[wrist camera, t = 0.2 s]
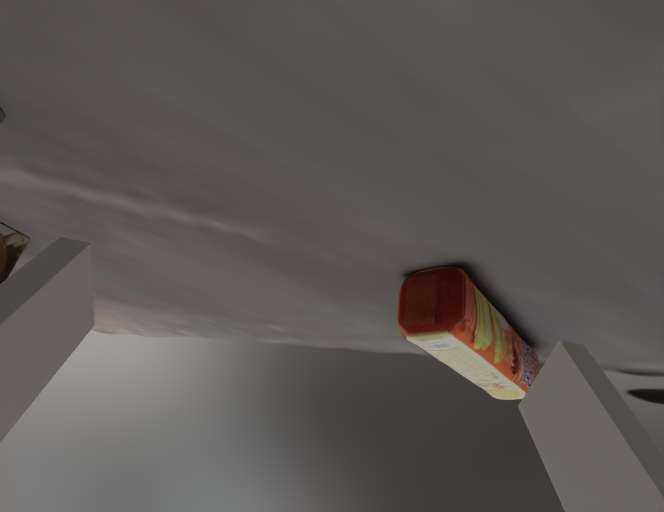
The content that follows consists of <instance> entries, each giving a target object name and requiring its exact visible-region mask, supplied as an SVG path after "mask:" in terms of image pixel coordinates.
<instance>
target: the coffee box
mask: <svg viewBox="0 0 664 512" xmlns="http://www.w3.org/2000/svg"><path fill="white" fill-rule="evenodd" d="M29 241H30V239H29V238H28V237H26V236H24V235H22V234H20V233H18V232H16V231H15V230H13V229H11V228H9V227H7V226H5V225H3V224H1V223H0V284H1V283H2V282H4V281H5V280H6V279H7V278H8V276H9V275H10V273H11V271H12V269H13V268H14V266H15V264H16V262H17V261H18V259H19V257H20V255H21V254H22V252H23V250H24V248H25V247H26V245H27V244H28V242H29Z"/></svg>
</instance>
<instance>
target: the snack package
mask: <svg viewBox="0 0 664 512" xmlns="http://www.w3.org/2000/svg"><path fill="white" fill-rule="evenodd" d="M397 322H398V327H399V330H400V332H401V334H402V336H403V337H404V338H405V339H406V340H408V341H410V342H412V343H414V344H416V345H418V346H419V347H421V348H422V349H424V350H425V351H427V352H428V353H430V354H431V355H433V356H434V357H435V358H437V359H438V360H439V361H441V362H443V363H445V364H447V365H448V366H450V367H451V368H452V369H454V370H455V371H457V372H458V373H459V374H461V375H463V376H464V377H465V378H467V379H468V380H470V381H472V382H473V383H475V384H476V385H478V386H479V387H481V388H483V389H484V390H485V391H486V392H487V393H488V394H489V395H491V396H493V397H494V398H497V399H503V400H512V399H523V398H524V396H525V394H526V393H527V391H528V390H529V388H530V386H531V385H532V383H533V382H534V380H535V378H536V377H537V375H538V374H539V361H538V357H537V354H536V353H535V351H534V350H533V349H532V348H531V347H530V346H528V345H527V344H526V343H525V342H524V341H523V340H522V339H521V338H520V337H519V336H518V335H517V333H516V332H515V331H514V329H513V328H512V327H511V326H510V324H509V323H508V322H507V321H506V320H505V318H504V317H503V316H502V315H501V314H500V313H499V312H498V311H497V310H496V309H495V308H494V307H493V306H492V304H491V303H490V302H489V301H488V300H487V299H486V298H485V297H484V295H483V294H482V293H481V292H480V291H479V290H478V289H477V288H476V286H475V285H474V284H473V283H472V281H471V280H470V278H469V277H468V275H467V274H466V273H465V272H464V271H463V270H462V269H461V268H458V267H438V268H433V269H428V270H423V271H419V272H417V273H415V274H413V275H411V276H409V277H407V279H406V280H405V281H404V283H403V284H402V286H401V289H400V293H399V302H398V316H397Z"/></svg>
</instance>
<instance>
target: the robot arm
mask: <svg viewBox="0 0 664 512" xmlns="http://www.w3.org/2000/svg"><path fill="white" fill-rule="evenodd" d="M93 326H94V309H93V284H92V260H91V243H88V242H83V241H78V240H73V239H68V238H64V237H60V238H58V239H57V240H56V241H55V242H53V243H52V244H51V245H49V246H48V247H47V248H46V249H44V250H43V251H42V252H41V253H39V254H38V255H37V256H35V257H34V258H33V259H32V260H30V261H29V262H28V263H27V264H25V265H24V266H23V267H21V268H20V269H19V270H18V271H16V272H15V273H14V274H13V275H11V276H10V277H9V278H7V279H6V280H5V281H4V282H2V283H1V284H0V442H1V441H2V440H3V438H4V437H5V436H6V435H7V433H8V432H9V431H10V429H11V428H12V427H13V426H14V425H15V423H16V422H17V421H18V420H19V418H20V417H21V416H22V415H23V413H24V412H25V411H26V410H27V408H28V407H29V406H30V405H31V403H32V402H33V401H34V400H35V398H36V397H37V396H38V395H39V394H40V392H41V391H42V390H43V389H44V387H45V386H46V385H47V383H48V382H49V381H50V380H51V379H52V377H53V376H54V375H55V374H56V372H57V371H58V370H59V369H60V367H61V366H62V365H63V364H64V362H65V361H66V360H67V358H68V357H69V356H70V355H71V354H72V352H73V351H74V350H75V349H76V347H77V346H78V345H79V344H80V342H81V341H82V340H83V339H84V337H85V336H86V335H87V334H88V332H89V331H90V330H91V329H92V327H93ZM518 407H519V409H520V411H521V414H522V416H523V418H524V420H525V423H526V425H527V427H528V429H529V432H530V434H531V436H532V438H533V441H534V443H535V445H536V447H537V449H538V452H539V454H540V456H541V458H542V461H543V463H544V465H545V468H546V470H547V472H548V474H549V477H550V479H551V481H552V483H553V486H554V488H555V490H556V492H557V495H558V497H559V499H560V501H561V504H562V506H563V508H564V510H565V512H664V455H663V453H662V452H661V451H660V449H659V448H658V446H657V445H656V444H655V442H654V441H653V440H652V438H651V437H650V435H649V434H648V433H647V431H646V430H645V429H644V427H643V426H642V425H641V423H640V422H639V420H638V419H637V418H636V416H635V415H634V413H633V412H632V411H631V409H630V408H629V406H628V405H627V404H626V402H625V401H624V400H623V398H622V397H621V396H620V394H619V393H618V391H617V390H616V389H615V387H614V386H613V384H612V383H611V382H610V380H609V379H608V378H607V376H606V375H605V373H604V372H603V371H602V369H601V368H600V367H599V365H598V364H597V362H596V361H595V360H594V358H593V357H592V355H591V354H590V353H589V351H588V350H587V349H586V347H585V346H584V345H581V344H576V343H571V342H566V341H562V340H559V341H558V343H557V345H556V346H555V348H554V349H553V351H552V353H551V354H550V356H549V357H548V359H547V361H546V362H545V364H544V365H543V367H542V369H541V371H540V372H539V374H538V375H537V377H536V378H535V380H534V382H533V383H532V385H531V386H530V388H529V390H528V391H527V393H526V394H525V396H524V398H523V399H522V401H521V402H520V404H519V406H518Z"/></svg>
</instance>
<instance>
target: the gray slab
mask: <svg viewBox="0 0 664 512" xmlns="http://www.w3.org/2000/svg"><path fill="white" fill-rule="evenodd" d="M5 117H6V116H5V115H4V113H3V112H2V110H1V109H0V123H1V122H2V121H3V120H4V118H5Z"/></svg>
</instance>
